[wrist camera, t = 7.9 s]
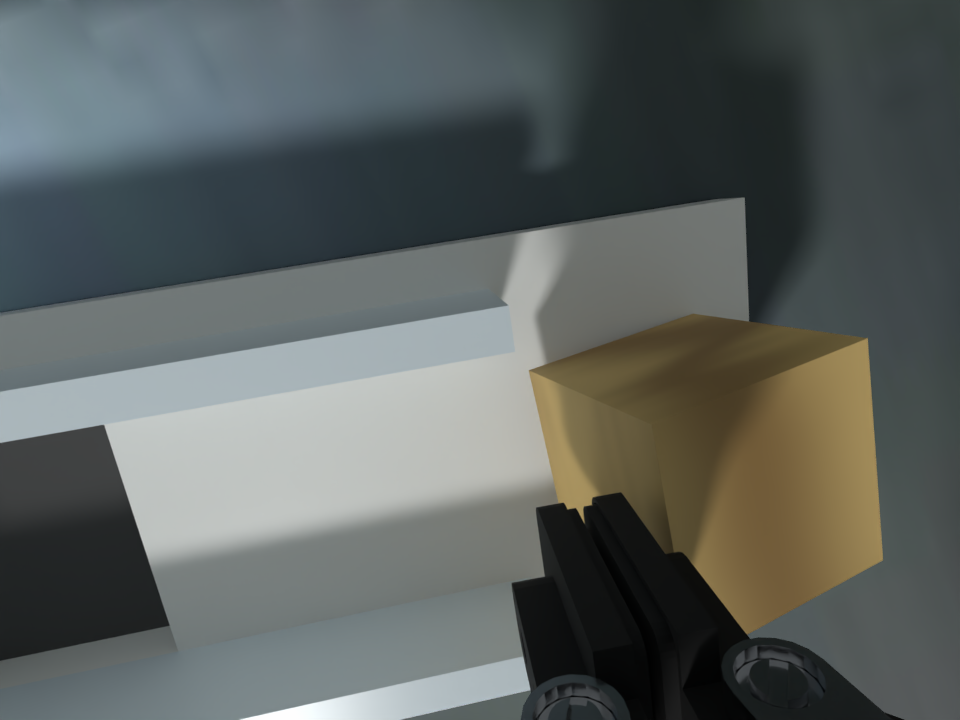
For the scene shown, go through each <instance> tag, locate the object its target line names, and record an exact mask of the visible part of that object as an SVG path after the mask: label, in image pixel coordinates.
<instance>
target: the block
mask: <svg viewBox="0 0 960 720" xmlns="http://www.w3.org/2000/svg"><path fill="white" fill-rule="evenodd" d="M529 374H530V379H531V383H532V387H533V392H534V396H535V401H536V405H537V410H538V414H539V418H540V423H541V427H542V432H543V436H544V441H545V445H546V449H547V454H548V458H549V463H550V467H551V472H552V476H553V480H554V485H555V489H556V494H557V498H558V503H564V504H565V505H566V507H567V509H572V508H576V509H577V510H578V512H579V514H580V516H581V518H582V520H583V522H584V513H583V508H584V506H589V505H592V498H593V497H596V496H602V495H608V494H613V493H619V492H621V493H622V494H623V495H624V497H625V498H626V499H627V501H628V502H629V504H630V505H631V506H632V508H633V509H634V511H635V512H636V513H637V515H638V516H639V518H640V519H641V520H642V522H643V523H644V525H645V526H646V527H647V529H648V530H649V532H650V533H651V534H652V536H653V537H654V539H655V540H656V541H657V543H658V544H659V546H660V547H661V548H662V550H663V551H664V553H665V554H668V553H673V552H683V553H684V554H685V555H686V556H687V558H688V559H689V560H690V562H691V563H692V564H693V565H694V567H695V568H696V569H697V571H698V572H699V573H700V575H701V576H702V577H703V578H704V580H705V581H706V582H707V584H708V585H709V586H710V587H711V589H712V590H713V591H714V593H715V594H716V595H717V597H718V598H719V599H720V600H721V602H722V603H723V604H724V606H725V607H726V608H727V610H728V611H729V612H730V613H731V615H732V616H733V617H734V619H735V620H736V621H737V623H738V624H739V625H740V626H741V628H742V629H743V630H744V632H745V633H746V634H749V633H751V632H753V631H754V630H756V629H758V628H760V627H762V626H764V625H765V624H767V623H769V622H771V621H773V620H775V619H776V618H778V617H780V616H782V615H784V614H785V613H787V612H789V611H791V610H793V609H795V608H796V607H798V606H800V605H802V604H804V603H806V602H807V601H809V600H811V599H813V598H815V597H816V596H818V595H820V594H822V593H824V592H826V591H827V590H829V589H831V588H833V587H835V586H837V585H838V584H840V583H842V582H844V581H846V580H848V579H849V578H851V577H853V576H855V575H857V574H858V573H860V572H862V571H864V570H866V569H868V568H869V567H871V566H873V565H875V564H877V563H879V562H880V561H882V560H883V554H882V539H881V525H880V511H879V496H878V482H877V467H876V453H875V439H874V424H873V410H872V395H871V381H870V367H869V352H868V338H861V337H854V336H847V335H840V334H833V333H826V332H819V331H812V330H805V329H798V328H791V327H784V326H777V325H770V324H763V323H756V322H749V321H742V320H735V319H727V318H720V317H713V316H706V315H699V314H691V315H688V316H685V317H682V318H679V319H676V320H673V321H670V322H667V323H664V324H662V325H659V326H656V327H653V328H650V329H647V330H644V331H641V332H638V333H635V334H632V335H630V336H627V337H624V338H621V339H618V340H615V341H612V342H609V343H606V344H603V345H601V346H598V347H595V348H592V349H589V350H586V351H583V352H580V353H577V354H574V355H572V356H569V357H566V358H563V359H560V360H557V361H554V362H551V363H548V364H545V365H543V366H540V367H537V368H534V369H531V370H529ZM584 524H585V522H584Z"/></svg>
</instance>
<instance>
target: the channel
mask: <svg viewBox="0 0 960 720" xmlns="http://www.w3.org/2000/svg"><path fill="white" fill-rule="evenodd" d="M691 314H699V315H706V316H713V317H720V318H727V319H735V320H742V321H749V304H748V276H747V248H746V221H745V197H744V198H727V199H713V200H707V201H701V202H694V203H688V204H682V205H675V206H669V207H663V208H657V209H650V210H644V211H638V212H631V213H625V214H619V215H612V216H606V217H600V218H594V219H587V220H581V221H575V222H568V223H562V224H556V225H550V226H543V227H537V228H531V229H524V230H518V231H512V232H505V233H499V234H493V235H487V236H480V237H474V238H468V239H461V240H455V241H449V242H442V243H436V244H430V245H424V246H417V247H411V248H405V249H398V250H392V251H386V252H379V253H373V254H367V255H361V256H354V257H348V258H342V259H335V260H329V261H323V262H316V263H310V264H304V265H298V266H291V267H285V268H279V269H272V270H266V271H260V272H254V273H247V274H241V275H235V276H228V277H222V278H216V279H209V280H203V281H197V282H191V283H184V284H178V285H172V286H165V287H159V288H153V289H146V290H140V291H134V292H128V293H121V294H115V295H109V296H102V297H96V298H90V299H83V300H77V301H71V302H65V303H58V304H52V305H46V306H39V307H33V308H27V309H21V310H14V311H8V312H2V313H0V720H401V719H405V718H410V717H414V716H419V715H423V714H427V713H432V712H436V711H440V710H445V709H449V708H454V707H458V706H462V705H467V704H471V703H475V702H480V701H484V700H489V699H493V698H497V697H502V696H506V695H511V694H515V693H519V692H524V691H528V690H530V685H529V681H528V676H527V672H526V667H525V663H524V658H523V653H522V647H521V642H520V636H519V631H518V625H517V619H516V613H515V606H514V600H513V593H512V585H511V584H512V583H513V582H518V581H524V580H529V579H535V578H540V577H545V574H544V567H543V560H542V553H541V546H540V539H539V532H538V524H537V517H536V507H541V506H547V505H552V504H558V498H557V494H556V489H555V485H554V480H553V476H552V472H551V467H550V463H549V458H548V454H547V449H546V445H545V441H544V436H543V432H542V427H541V423H540V418H539V414H538V410H537V405H536V401H535V396H534V392H533V387H532V383H531V379H530V374H529V370H531V369H534V368H537V367H540V366H543V365H545V364H548V363H551V362H554V361H557V360H560V359H563V358H566V357H569V356H572V355H574V354H577V353H580V352H583V351H586V350H589V349H592V348H595V347H598V346H601V345H603V344H606V343H609V342H612V341H615V340H618V339H621V338H624V337H627V336H630V335H632V334H635V333H638V332H641V331H644V330H647V329H650V328H653V327H656V326H659V325H662V324H664V323H667V322H670V321H673V320H676V319H679V318H682V317H685V316H688V315H691Z"/></svg>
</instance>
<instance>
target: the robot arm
mask: <svg viewBox="0 0 960 720" xmlns="http://www.w3.org/2000/svg"><path fill="white" fill-rule="evenodd" d="M583 513H584V522H585V524H584V522H583V520H582V518H581V516H580V514H579V512H578V510H577V509H576V508H572V509H567V507H566V505H565V504H564V503H558V504H552V505H547V506H541V507H536V517H537V524H538V532H539V539H540V546H541V553H542V560H543V567H544V574H545V577H540V578H535V579H529V580H524V581H518V582H513V583H512V584H511V585H512V593H513V600H514V606H515V613H516V619H517V625H518V631H519V636H520V642H521V647H522V653H523V658H524V663H525V667H526V672H527V676H528V681H529V685H530V690H531V694H530V695H529V697H528V699H527V700H526V702H525V704H524V705H523V710H522V716H521V720H904V719H901V718H898V717H895V716H893V715H890V714H887V713H884V712H883V711H882V710H881V709H880V708H879V707H877V706H876V705H875V704H874V703H873V702H872V701H871V700H869V699H868V698H867V697H866V696H865V695H864V694H863V693H861V692H860V691H859V690H858V689H857V688H856V687H855V686H853V685H852V684H851V683H850V682H849V681H848V680H847V679H845V678H844V677H843V676H842V675H841V674H840V673H838V672H837V671H836V670H835V669H834V668H833V667H832V666H830V665H829V664H828V663H827V662H826V661H825V660H824V659H822V658H821V657H819V656H818V655H816V654H815V653H814V652H812V651H811V650H809V649H807V648H805V647H803V646H800V645H798V644H796V643H793V642H790V641H786V640H781V639H777V638H759V637H758V638H753V639H750V638H749V637H748V636H747V634H746V633H745V632H744V630H743V629H742V628H741V626H740V625H739V624H738V623H737V621H736V620H735V619H734V617H733V616H732V615H731V613H730V612H729V611H728V610H727V608H726V607H725V606H724V604H723V603H722V602H721V600H720V599H719V598H718V597H717V595H716V594H715V593H714V591H713V590H712V589H711V587H710V586H709V585H708V584H707V582H706V581H705V580H704V578H703V577H702V576H701V575H700V573H699V572H698V571H697V569H696V568H695V567H694V565H693V564H692V563H691V562H690V560H689V559H688V558H687V556H686V555H685V554H684V553H683V552H673V553H668V554H665V553H664V551H663V550H662V548H661V547H660V546H659V544H658V543H657V541H656V540H655V539H654V537H653V536H652V534H651V533H650V532H649V530H648V529H647V527H646V526H645V525H644V523H643V522H642V520H641V519H640V518H639V516H638V515H637V513H636V512H635V511H634V509H633V508H632V506H631V505H630V504H629V502H628V501H627V499H626V498H625V497H624V495H623V494H622V493H621V492H619V493H613V494H608V495H602V496H596V497H593V498H592V505H589V506H584V508H583Z"/></svg>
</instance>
